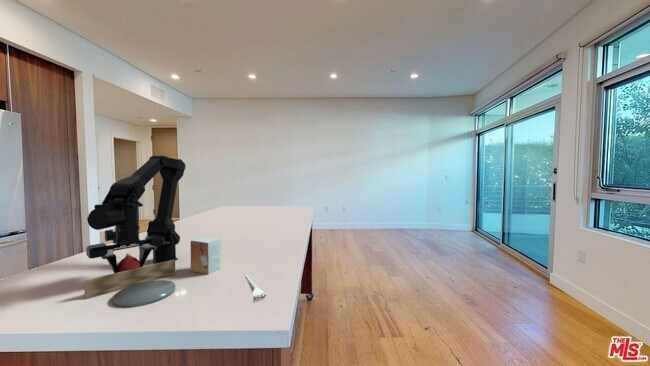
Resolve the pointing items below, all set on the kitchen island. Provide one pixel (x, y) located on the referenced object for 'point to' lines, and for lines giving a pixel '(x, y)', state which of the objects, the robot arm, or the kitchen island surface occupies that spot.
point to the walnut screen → (127, 278)
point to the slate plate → (143, 293)
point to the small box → (205, 255)
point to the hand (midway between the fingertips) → (128, 272)
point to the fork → (255, 288)
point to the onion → (128, 263)
